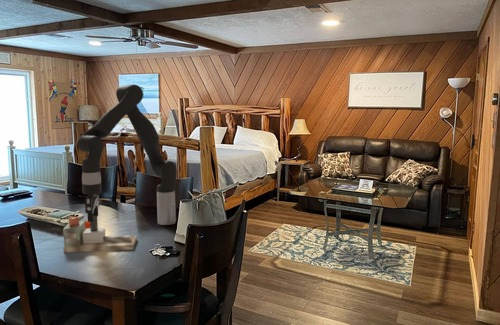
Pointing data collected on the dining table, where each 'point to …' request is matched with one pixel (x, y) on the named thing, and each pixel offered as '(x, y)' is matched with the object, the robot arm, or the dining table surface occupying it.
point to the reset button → (74, 221)
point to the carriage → (93, 233)
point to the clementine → (87, 224)
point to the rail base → (76, 244)
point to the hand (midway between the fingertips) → (93, 218)
